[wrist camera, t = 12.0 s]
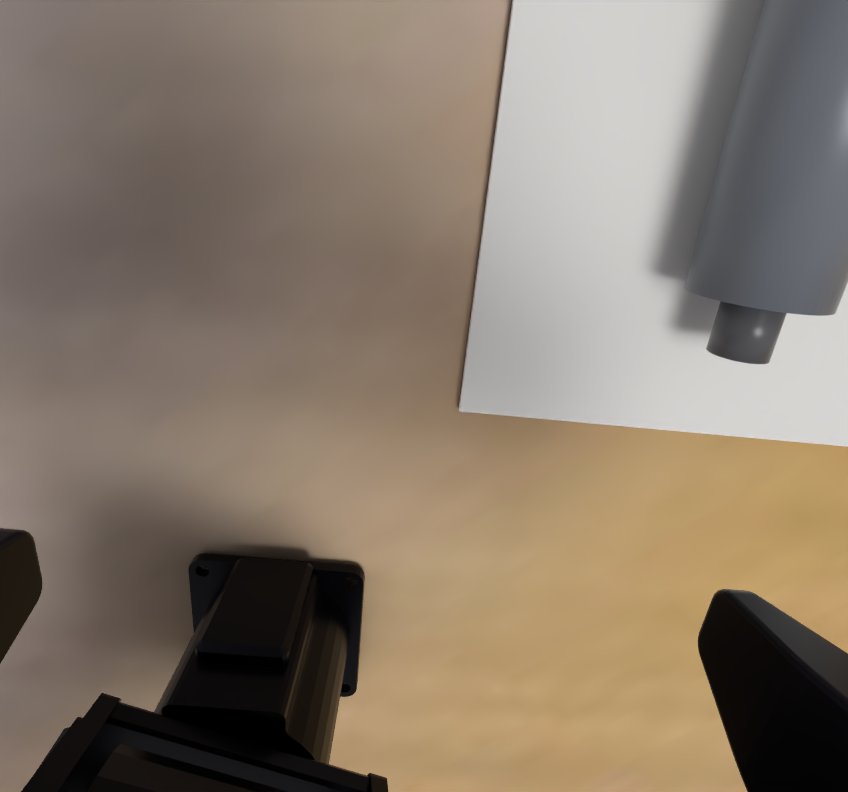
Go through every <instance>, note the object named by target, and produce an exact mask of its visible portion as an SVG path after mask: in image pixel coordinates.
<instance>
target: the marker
mask: <svg viewBox="0 0 848 792" xmlns="http://www.w3.org/2000/svg"><path fill="white" fill-rule="evenodd" d="M847 283H848V0H764V2H763V5H762V9H761V12H760V16H759V20H758V23H757V27H756V30H755V34H754V38H753V41H752V45H751V48H750V52H749V56H748V59H747V63H746V66H745V70H744V74H743V77H742V81H741V84H740V88H739V91H738V95H737V99H736V102H735V106H734V109H733V113H732V117H731V120H730V124H729V127H728V131H727V135H726V138H725V142H724V145H723V149H722V153H721V156H720V160H719V163H718V167H717V171H716V174H715V178H714V181H713V185H712V189H711V192H710V196H709V199H708V203H707V207H706V210H705V214H704V217H703V221H702V224H701V228H700V232H699V235H698V239H697V242H696V246H695V250H694V253H693V257H692V260H691V264H690V268H689V271H688V275H687V278H686V282H685V286H684V288H685V289H686V290H687V291H689V292H692V293H694V294H697V295H700V296H703V297H706V298H710V299H714V300H718V301H720V305H719V308H718V311H717V314H716V318H715V321H714V324H713V328H712V331H711V334H710V337H709V341H708V344H707V347H706V350H707V351H708V352H710V353H712V354H714V355H716V356H719V357H722V358H725V359H729V360H733V361H737V362H743V363H749V364H767V363H769V362H770V359H771V356H772V353H773V351H774V348H775V345H776V342H777V339H778V337H779V334H780V331H781V328H782V325H783V323H784V320H785V317H786V314H787V313H791V314H800V315H814V316H827V315H833V314H835V313H836V311H837V308H838V306H839V303H840V301H841V298H842V296H843V293H844V290H845V288H846V285H847Z"/></svg>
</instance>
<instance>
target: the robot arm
mask: <svg viewBox="0 0 848 792" xmlns="http://www.w3.org/2000/svg"><path fill="white" fill-rule="evenodd" d="M201 566H205V567H206V568H208V569H203V568H202V567H201ZM350 577H351V578H354V579H355V581H349V580H347V579H346V578H350ZM189 580H190V592H191V603H192V615H193V626H194V634H193V636H192V638H191V640H190V642H189V644H188V646H187V648H186V650H185V652H184V654H183V656H182V658H181V660H180V662H179V664H178V666H177V668H176V670H175V672H174V674H173V676H172V678H171V680H170V682H169V684H168V686H167V688H166V689H165V691H164V693H163V695H162V697H161V699H160V701H159V703H158V705H157V707H156V709H155V711H154V712H151V711H148V710H144V709H141V708H137V707H134V706H131V705H127V704H124V703H121V702H120V701H121V699H120V698H117V697H114V696H110V695H107V694H104V693H102V694H101V695H100V696H99V697H98V699H97V700H96V701H95V703H94V704H93V705H92V707H91V708H90V710H89V711H88V712H87V714H86V715H85V716H84V718H81V717H78V718H77V719H76V720H75V721H74V723H73V724H72V725H71V727H69V728H65V729H64V730H63V731H62V733H61V735H60V736H59V738H58V739H57V741H56V742H55V744H54V745H53V747H52V748H51V750H50V751H49V753H48V754H47V756H46V757H45V759H44V760H43V762H42V764H41V765H40V767H39V768H38V769H37V771H36V772H35V774H34V775H33V777H32V778H31V779H30V781H29V782H28V783H27V785H26V786H25V787H24V789H23V790H22V791H21V792H388V785H387V778H385V777H382V776H378V775H375V774H372V773H369V774H368V776H366V775H363V774H360V773H356V772H353V771H349V770H346V769H343V768H339V767H336V766H333V765H329V759H330V753H331V747H332V741H333V735H334V729H335V723H336V717H337V711H338V705H339V699H340V696H342V697H346V696H351V695H353V694H354V693H355V692H356V689H357V681H358V668H359V653H360V638H361V624H362V609H363V594H364V580H365V576H364V572H363V571H362V569H361V568H359V567H357V566H354V565H344V564H332V563H320V562H307V561H295V560H282V559H270V558H258V557H245V556H233V555H220V554H208V553H203V554H199V555H197V556H196V557H195V558H194V559H193V561H192V562H191V564H190V566H189ZM41 590H42V576H41V571H40V566H39V561H38V556H37V552H36V547H35V542H34V539H33V537H32V535H31V534H30V533H29V532H27V531H24V530H16V529H4V528H0V663H1V661H2V660H3V658H4V656H5V655H6V653H7V651H8V650H9V648H10V646H11V645H12V643H13V641H14V640H15V638H16V636H17V635H18V633H19V632H20V630H21V628H22V627H23V625H24V623H25V622H26V620H27V618H28V617H29V615H30V613H31V612H32V610H33V608H34V607H35V605H36V603H37V601H38V599H39V597H40V594H41ZM698 649H699V654H700V657H701V660H702V663H703V666H704V669H705V672H706V675H707V678H708V681H709V684H710V687H711V690H712V693H713V696H714V699H715V702H716V705H717V708H718V711H719V714H720V717H721V720H722V723H723V726H724V729H725V732H726V735H727V738H728V741H729V743H730V746H731V749H732V752H733V755H734V758H735V761H736V763H737V766H738V769H739V772H740V774H741V777H742V779H743V782H744V784H745V786H746V789H747V791H748V792H848V654H847V653H846V652H844V651H843V650H841V649H840V648H838V647H837V646H835V645H833V644H832V643H830V642H829V641H827V640H826V639H824V638H823V637H821V636H820V635H818V634H817V633H815V632H813V631H812V630H810V629H809V628H807V627H806V626H804V625H803V624H801V623H800V622H798V621H796V620H795V619H793V618H792V617H790V616H789V615H787V614H786V613H784V612H783V611H781V610H779V609H778V608H776V607H775V606H773V605H772V604H770V603H769V602H767V601H766V600H764V599H762V598H761V597H759V596H758V595H756V594H754V593H752V592H749V591H743V590H731V589H722V590H719V591H717V592H716V593H715V594H714V596H713V598H712V601H711V603H710V606H709V609H708V611H707V614H706V616H705V619H704V622H703V624H702V627H701V629H700V632H699V636H698Z"/></svg>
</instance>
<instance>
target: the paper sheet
mask: <svg viewBox="0 0 848 792" xmlns="http://www.w3.org/2000/svg"><path fill="white" fill-rule="evenodd" d="M763 2H764V0H512V8H511V15H510V23H509V30H508V38H507V46H506V53H505V61H504V68H503V76H502V84H501V91H500V99H499V106H498V114H497V121H496V129H495V137H494V144H493V152H492V159H491V167H490V175H489V182H488V190H487V197H486V205H485V213H484V220H483V228H482V235H481V243H480V251H479V258H478V266H477V273H476V281H475V288H474V296H473V304H472V311H471V319H470V326H469V334H468V342H467V349H466V357H465V364H464V372H463V380H462V387H461V395H460V402H459V411H460V412H471V413H482V414H493V415H505V416H516V417H527V418H538V419H549V420H560V421H571V422H582V423H593V424H604V425H615V426H626V427H637V428H649V429H660V430H671V431H682V432H693V433H704V434H715V435H726V436H737V437H748V438H759V439H770V440H781V441H793V442H804V443H815V444H826V445H837V446H848V283H847V285H846V288H845V290H844V293H843V296H842V298H841V301H840V303H839V306H838V308H837V311H836V313H835V314H833V315H827V316H814V315H800V314H791V313H787V314H786V317H785V320H784V323H783V325H782V328H781V331H780V334H779V337H778V339H777V342H776V345H775V348H774V351H773V353H772V356H771V359H770V362H769V363H767V364H749V363H743V362H737V361H733V360H729V359H725V358H722V357H719V356H716V355H714V354H712V353H710V352H708V351H707V350H706V347H707V344H708V341H709V337H710V334H711V331H712V328H713V324H714V321H715V318H716V314H717V311H718V308H719V305H720V301H718V300H714V299H710V298H706V297H703V296H700V295H697V294H694V293H692V292H689V291H687V290H686V289H685V288H684V286H685V282H686V278H687V275H688V271H689V268H690V264H691V260H692V257H693V253H694V250H695V246H696V242H697V239H698V235H699V232H700V228H701V224H702V221H703V217H704V214H705V210H706V207H707V203H708V199H709V196H710V192H711V189H712V185H713V181H714V178H715V174H716V171H717V167H718V163H719V160H720V156H721V153H722V149H723V145H724V142H725V138H726V135H727V131H728V127H729V124H730V120H731V117H732V113H733V109H734V106H735V102H736V99H737V95H738V91H739V88H740V84H741V81H742V77H743V74H744V70H745V66H746V63H747V59H748V56H749V52H750V48H751V45H752V41H753V38H754V34H755V30H756V27H757V23H758V20H759V16H760V12H761V9H762V5H763Z"/></svg>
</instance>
